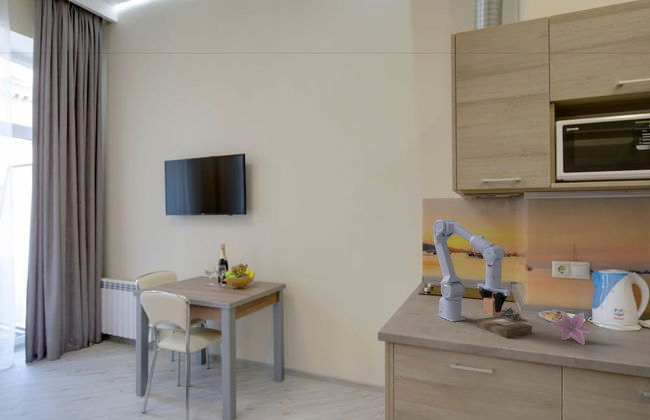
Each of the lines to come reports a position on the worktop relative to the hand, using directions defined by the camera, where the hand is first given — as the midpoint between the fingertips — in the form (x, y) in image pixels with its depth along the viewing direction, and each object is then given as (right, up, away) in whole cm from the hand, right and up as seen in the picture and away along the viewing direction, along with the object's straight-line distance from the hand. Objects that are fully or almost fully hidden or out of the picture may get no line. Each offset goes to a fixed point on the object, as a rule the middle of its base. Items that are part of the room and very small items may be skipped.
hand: (492, 310), depth 142 cm
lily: (+26, -9, -8) cm, 29 cm away
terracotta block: (0, -2, 0) cm, 2 cm away
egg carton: (+15, -9, +18) cm, 25 cm away
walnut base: (+5, -9, +2) cm, 10 cm away
